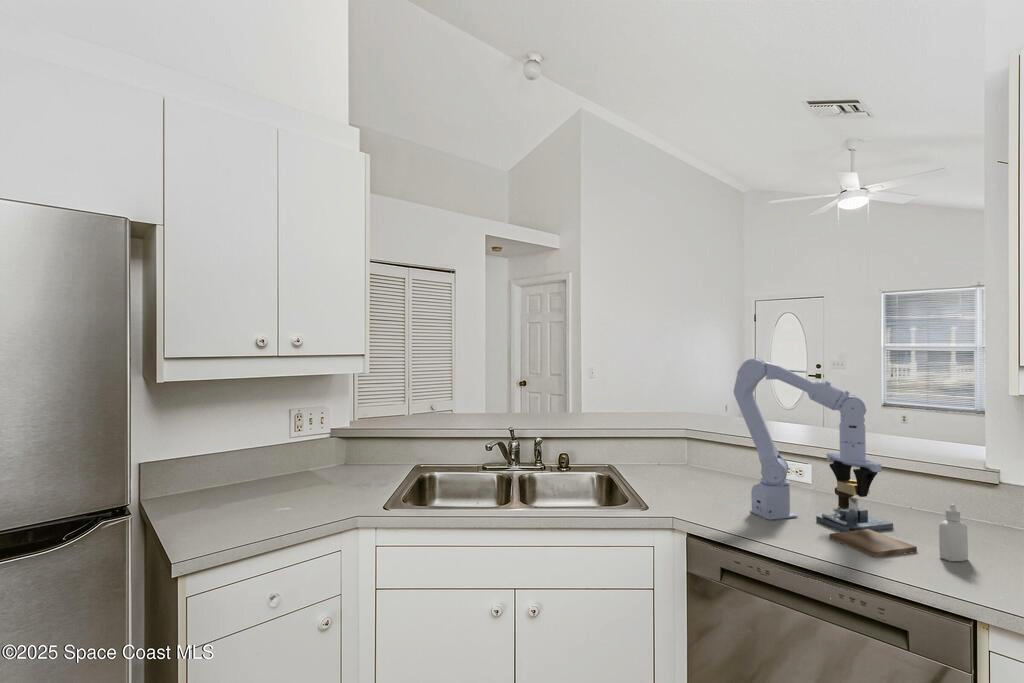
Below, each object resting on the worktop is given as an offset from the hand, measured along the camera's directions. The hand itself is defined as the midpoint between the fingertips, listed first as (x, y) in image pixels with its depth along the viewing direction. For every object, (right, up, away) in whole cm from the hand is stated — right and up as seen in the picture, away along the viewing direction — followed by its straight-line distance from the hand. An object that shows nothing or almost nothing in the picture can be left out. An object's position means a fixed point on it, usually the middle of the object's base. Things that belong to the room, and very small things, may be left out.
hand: (853, 493), depth 136 cm
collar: (0, 0, 0) cm, 0 cm away
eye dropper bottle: (+8, -8, -22) cm, 25 cm away
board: (-5, -8, -14) cm, 17 cm away
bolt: (+8, -9, +15) cm, 19 cm away
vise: (0, -8, 0) cm, 8 cm away
